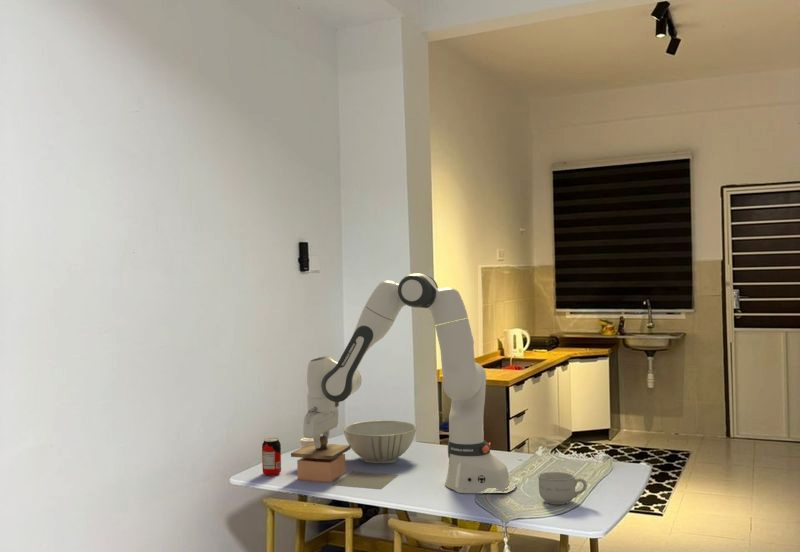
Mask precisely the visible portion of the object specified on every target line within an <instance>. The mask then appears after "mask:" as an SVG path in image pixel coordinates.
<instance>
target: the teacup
mask: <svg viewBox="0 0 800 552" xmlns="http://www.w3.org/2000/svg"><path fill="white" fill-rule="evenodd" d="M537 475H538V476H537V477H538V491H539V493H538V494H539V496H540V497H541V498H542V499H543V500H544V501H545V502H546V503H547V504H550V505H557V504H562V505H566V504H565V503H567V504H569V503H570V502H571V501H572V500H574V499H576V498H577V497H578V496H579V495H581V494H583V493H584V492H585V491H586V490H587V487H588V484H587V480H585V478H582V477H577V478H576V475H575V474H572V473H570V472H569V473H568V472H563V471H561V472H560V471H547V472H541V473H539V474H537ZM578 482H581V483H582V485H583V486H582V488H581V489H580V490H578V491H576V487H577V484H578ZM568 502H569V503H568Z"/></svg>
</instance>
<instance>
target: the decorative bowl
mask: <svg viewBox="0 0 800 552" xmlns="http://www.w3.org/2000/svg"><path fill="white" fill-rule="evenodd" d="M416 433H417V426H416V425H415V424H414V423H411V422H406V421H401V420H386V419H385V420H367V421H360V422H359V421H358V422H355V423H351V424H348V425H346V426H345V427H344V428H343V434H344V437H345V440H346V442H347V444H348V445H351V450H352V451H353V452H354V453H355V455H357V456H358V457H360V458H362V459H363V462H366V463H371V464H394V463H396V462H397V461H398V458H400V457H401V456H402V455H404V454H405V453H406V452H407V451H408V450H409V448H410V447H411V445H412V443H413V441H414V438H415V435H416Z"/></svg>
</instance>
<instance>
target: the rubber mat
mask: <svg viewBox="0 0 800 552" xmlns="http://www.w3.org/2000/svg"><path fill="white" fill-rule="evenodd" d="M398 476H399V474H392V473H381V472H369V471H367V472H364V471H353V470H352V471H350V472H349V473H347V474H346V475H345V476H343V477H341V478H340V479H339V480H337V481H336V482H334V483H333V484H332V486H336V487H346V488H347V487H348V488H349V487H350V488H361V489H374V490H382V489H383V488H385V487H386V486H387V485H389V484H390V483H391V482H392V481H394V479H396V478H397V477H398Z"/></svg>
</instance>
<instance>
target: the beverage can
mask: <svg viewBox="0 0 800 552" xmlns="http://www.w3.org/2000/svg"><path fill="white" fill-rule="evenodd" d="M279 440H280V439H279V438H278V437H266V438H264V439H263V442H262V445H261V453H262V455H261V457H262V462H261V463H262V466H261V467H262V473H263V474H264V475H265V476H267V477H274V476H278V475H279V474H280V473H281V472H282V457H281V456H282V451H281V449H282V448H281V447H282V446H281V445H282V444H281V442H280V441H279Z"/></svg>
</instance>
